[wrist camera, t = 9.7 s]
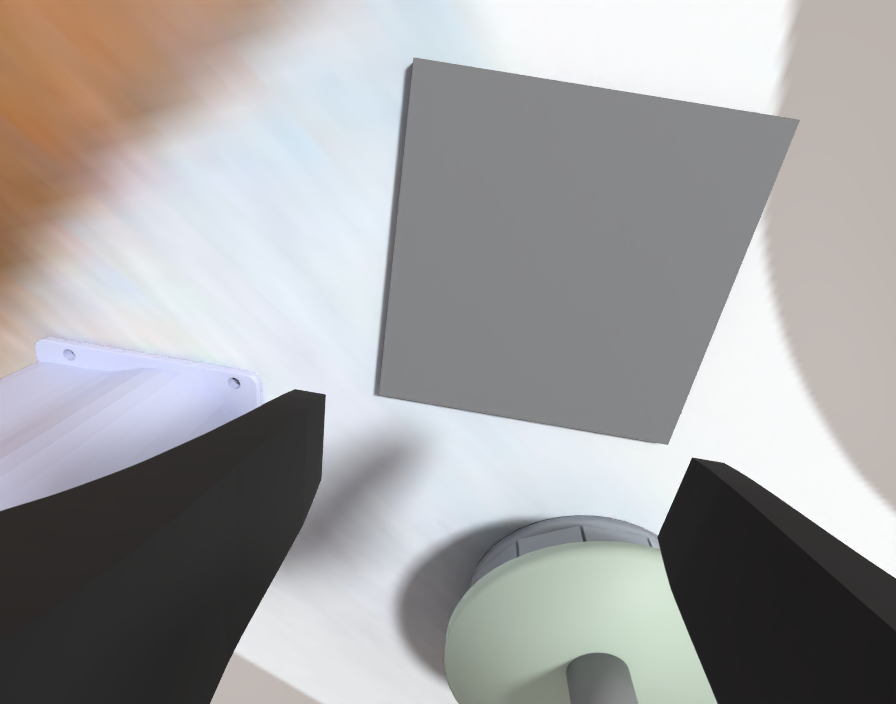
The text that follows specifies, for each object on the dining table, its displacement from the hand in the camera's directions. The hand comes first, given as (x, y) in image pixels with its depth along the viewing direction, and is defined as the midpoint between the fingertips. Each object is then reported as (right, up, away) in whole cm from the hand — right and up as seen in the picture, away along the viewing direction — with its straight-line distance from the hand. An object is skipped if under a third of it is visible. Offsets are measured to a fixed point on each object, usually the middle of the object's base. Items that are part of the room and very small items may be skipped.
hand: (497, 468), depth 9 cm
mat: (+3, +5, +8) cm, 10 cm away
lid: (+5, -11, +11) cm, 16 cm away
